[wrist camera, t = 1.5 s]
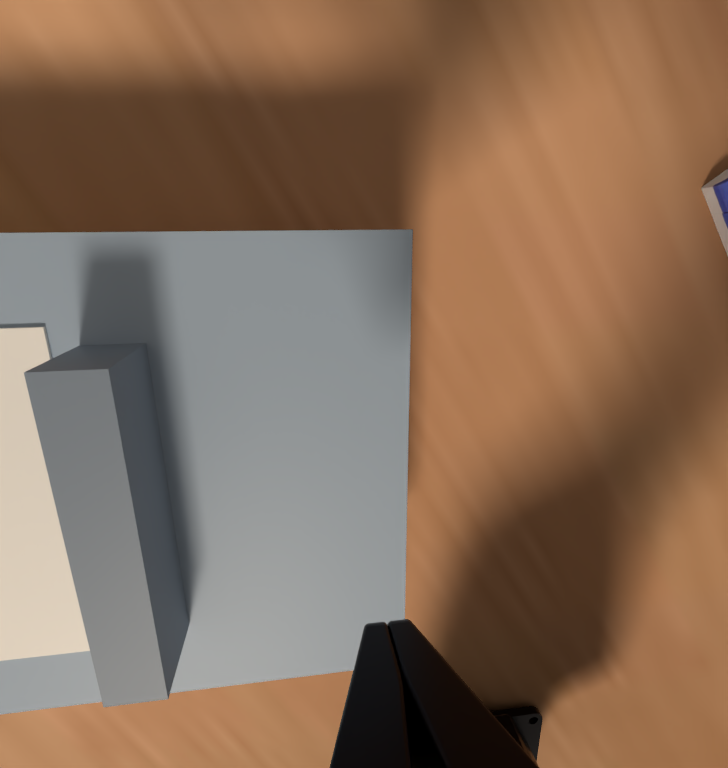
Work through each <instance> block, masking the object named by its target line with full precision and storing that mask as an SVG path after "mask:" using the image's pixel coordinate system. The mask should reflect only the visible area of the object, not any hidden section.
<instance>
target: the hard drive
mask: <svg viewBox="0 0 728 768" xmlns="http://www.w3.org/2000/svg"><path fill="white" fill-rule="evenodd" d="M701 189H702V192H703V194H704V197H705V199H706V202H707V204H708V207H709V210H710V212H711V215H712V217H713V220H714V223H715V225H716V228H717V230H718V233H719V236H720V238H721V241H722V243H723V246H724V248H725V251H726V253H727V256H728V169H726V170H725V171H724V172H722V173H721V174H719V175H718V176H717V177H715V178H714V179H713V180H711V181H710V182H708V183H707V184H706V185H704V186H703V187H702V188H701Z"/></svg>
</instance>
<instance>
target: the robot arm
mask: <svg viewBox="0 0 728 768" xmlns="http://www.w3.org/2000/svg"><path fill="white" fill-rule="evenodd" d="M541 725H542V716H541V714H540V712H539V710H538V708H537V707H534V706H529V707H522V708H515V709H508V710H501V711H494V712H490V711H489V710H488V709H487V707H486V706H485V705H484V704H483V703H482V702H481V701H480V699H479V698H478V697H477V696H476V695H475V694H474V693H473V691H472V690H471V689H470V688H469V687H468V686H467V685H466V683H465V682H464V681H463V680H462V679H461V678H460V677H459V675H458V674H457V673H456V672H455V671H454V670H453V669H452V668H451V666H450V665H449V664H448V663H447V662H446V661H445V660H444V658H443V657H442V656H441V655H440V654H439V653H438V652H437V650H436V649H435V648H434V647H433V646H432V645H431V644H430V642H429V641H428V640H427V639H426V638H425V637H424V636H423V634H422V633H421V632H420V631H419V630H418V629H417V628H416V626H415V625H414V624H413V623H412V622H411V621H410V620H408V619H403V620H394V621H390V622H388V624H386V623H385V622H376V623H368V624H366V625H365V626H364V629H363V633H362V638H361V642H360V646H359V650H358V654H357V658H356V662H355V666H354V670H353V674H352V678H351V683H350V687H349V691H348V695H347V699H346V703H345V707H344V711H343V715H342V719H341V723H340V728H339V732H338V736H337V740H336V744H335V748H334V752H333V756H332V760H331V764H330V768H539V767H538V764H537V762H536V760H537V753H538V746H539V739H540V732H541Z"/></svg>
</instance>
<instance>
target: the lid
mask: <svg viewBox="0 0 728 768" xmlns="http://www.w3.org/2000/svg"><path fill="white" fill-rule="evenodd" d="M412 238H413V229H411V230H290V231H168V232H47V233H0V714H8V713H16V712H24V711H32V710H40V709H48V708H56V707H64V706H72V705H80V704H88V703H96V702H102V703H103V707H109V706H117V705H125V704H133V703H141V702H149V701H157V700H165V699H168V698H169V694H170V693H176V692H184V691H192V690H200V689H208V688H216V687H224V686H232V685H240V684H248V683H256V682H264V681H272V680H280V679H288V678H295V677H303V676H311V675H319V674H327V673H335V672H343V671H351V670H354V666H355V662H356V658H357V654H358V650H359V646H360V642H361V638H362V633H363V629H364V626H365V625H366V624H368V623H376V622H385V623H386V624H388V622H390V621H394V620H403V619H405V580H406V531H407V482H408V433H409V384H410V335H411V286H412Z"/></svg>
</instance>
